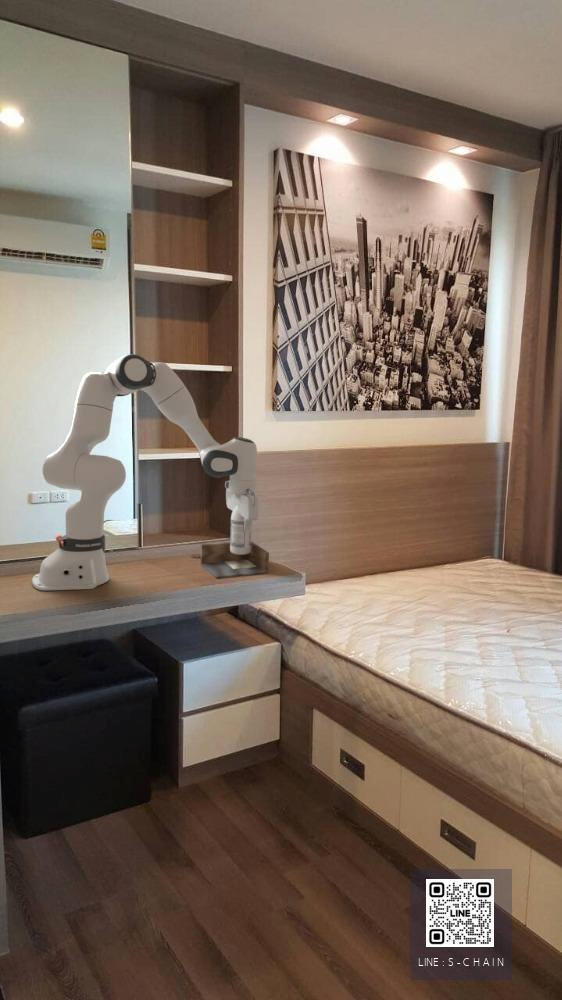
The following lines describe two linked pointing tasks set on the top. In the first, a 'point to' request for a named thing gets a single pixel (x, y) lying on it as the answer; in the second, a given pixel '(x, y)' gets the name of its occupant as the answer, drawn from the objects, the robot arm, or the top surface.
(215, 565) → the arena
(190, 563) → the top surface
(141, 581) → the top surface
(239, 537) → the bath foam
